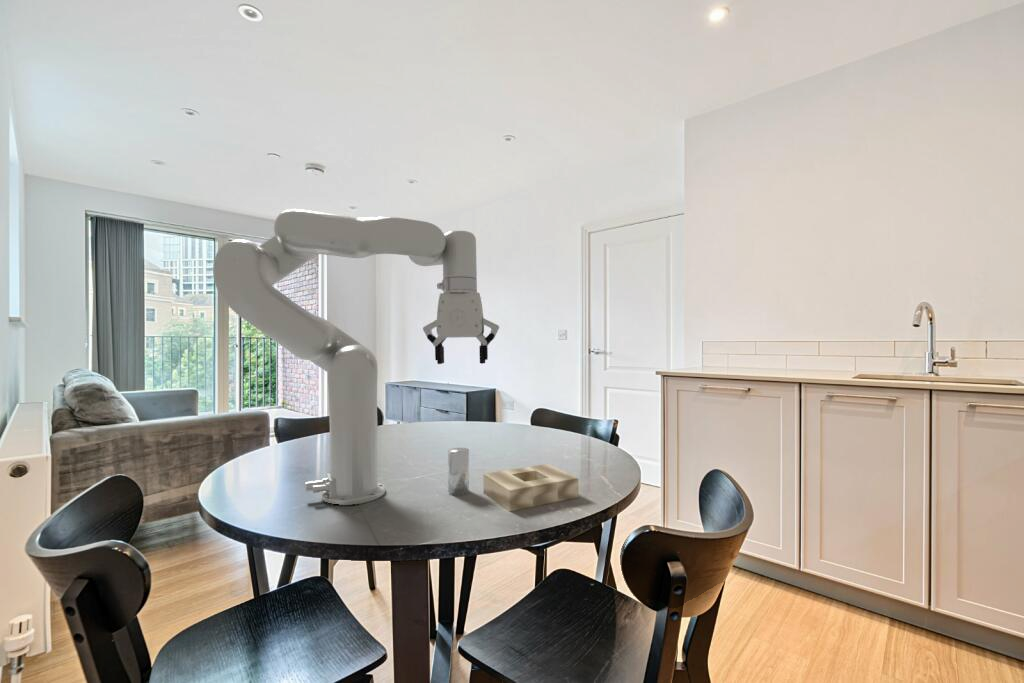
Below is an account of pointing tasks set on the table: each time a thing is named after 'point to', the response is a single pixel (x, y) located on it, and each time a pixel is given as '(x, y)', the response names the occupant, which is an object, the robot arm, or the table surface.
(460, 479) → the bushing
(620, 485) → the table surface
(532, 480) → the jig
